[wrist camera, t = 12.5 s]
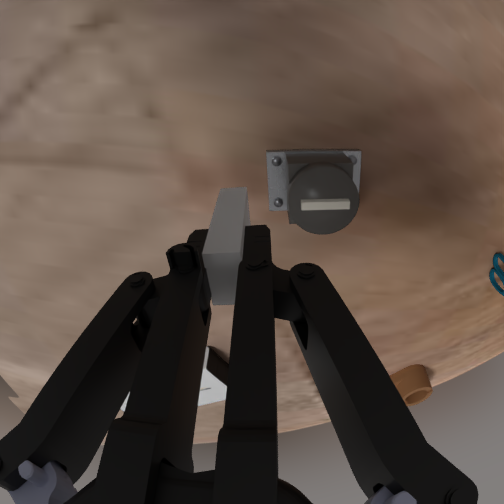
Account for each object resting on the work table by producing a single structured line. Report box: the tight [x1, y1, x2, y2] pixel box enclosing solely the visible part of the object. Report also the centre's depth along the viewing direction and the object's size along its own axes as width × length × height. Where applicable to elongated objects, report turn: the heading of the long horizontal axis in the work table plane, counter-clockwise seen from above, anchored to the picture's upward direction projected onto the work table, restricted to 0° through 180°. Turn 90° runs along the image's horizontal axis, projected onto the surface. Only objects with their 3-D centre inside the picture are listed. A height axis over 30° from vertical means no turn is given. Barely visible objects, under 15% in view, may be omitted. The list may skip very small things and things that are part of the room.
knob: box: [285, 153, 359, 234], centre depth 35 cm, size 8×8×8 cm
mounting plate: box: [266, 149, 361, 211], centre depth 37 cm, size 8×12×5 cm, turn 94°
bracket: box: [390, 364, 432, 406], centre depth 62 cm, size 18×8×7 cm, turn 130°
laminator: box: [120, 346, 229, 411], centre depth 63 cm, size 34×12×6 cm, turn 122°
